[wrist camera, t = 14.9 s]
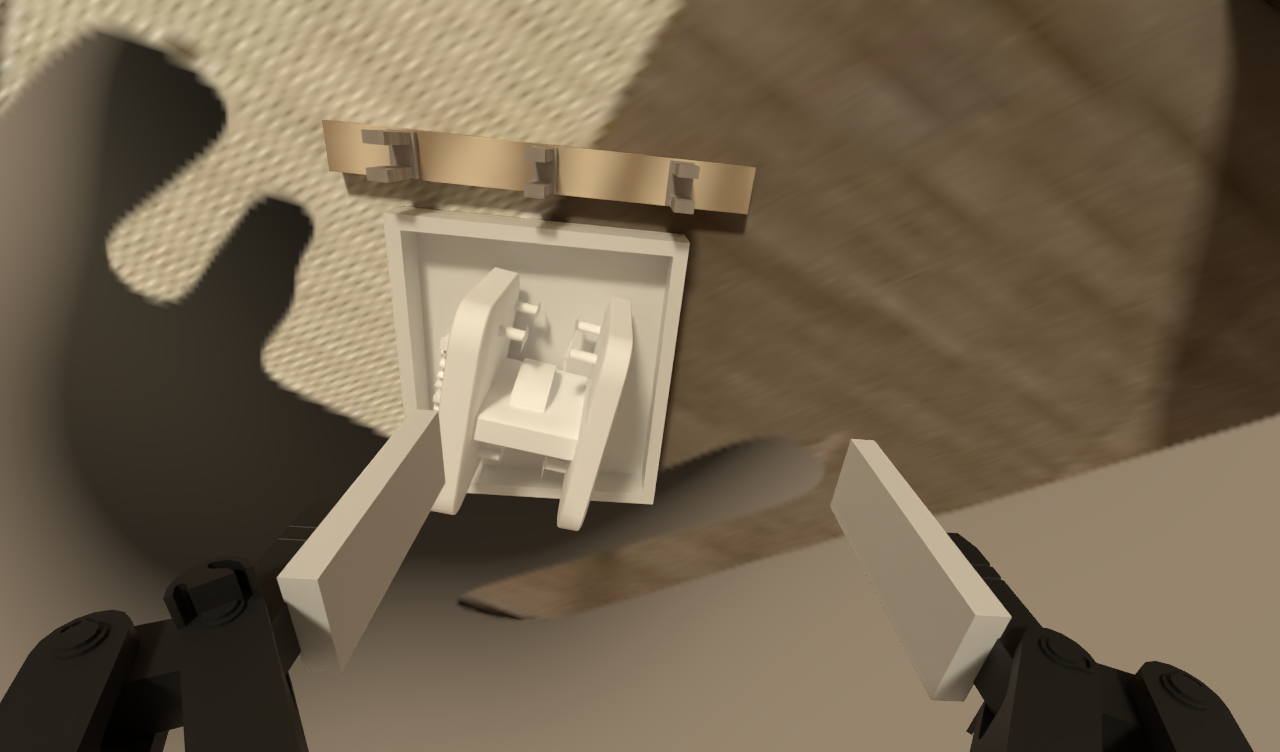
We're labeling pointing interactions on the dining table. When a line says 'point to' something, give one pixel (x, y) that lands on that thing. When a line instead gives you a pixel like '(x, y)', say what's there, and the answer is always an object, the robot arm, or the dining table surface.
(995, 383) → the dining table surface
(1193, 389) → the dining table surface
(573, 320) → the holder tray
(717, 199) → the cable clip rail
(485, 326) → the cable organizer
